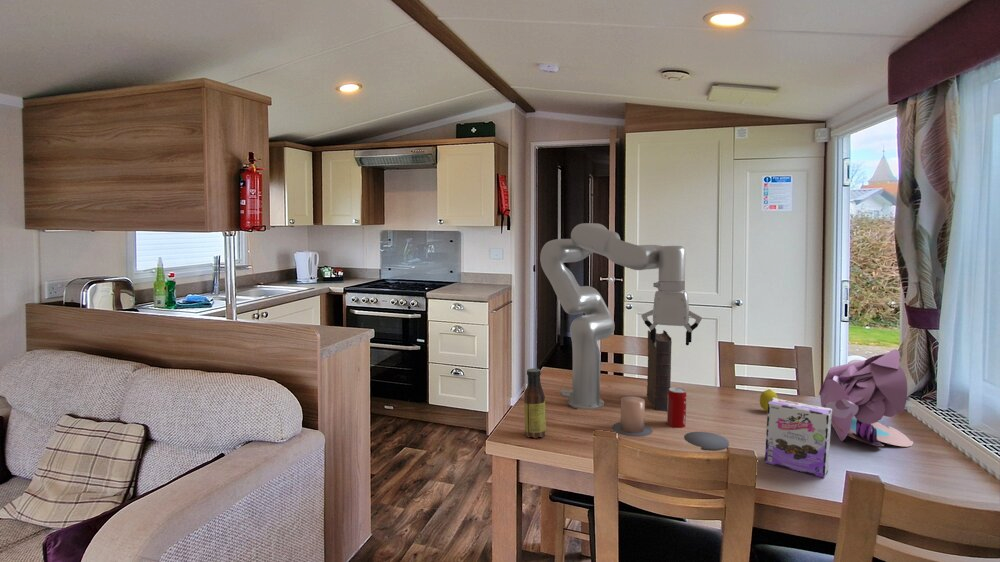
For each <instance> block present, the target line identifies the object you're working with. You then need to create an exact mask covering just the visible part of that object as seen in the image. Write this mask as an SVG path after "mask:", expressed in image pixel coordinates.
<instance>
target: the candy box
mask: <svg viewBox="0 0 1000 562" xmlns="http://www.w3.org/2000/svg"><path fill="white" fill-rule="evenodd" d="M831 417H832V409H831V408H824V407H822V406H819V405H812V404H811V405H810V404H806V403H802V402H796V401H791V400H785V399H781V398H778V399H777V398H772V400H771V401H770V402H769V403H768V412H767V418H766V435H765V452H764V453H765V455H764V463H766V464H770V465H774V466H778V467H781V468H784V467H785V469H789V470H793V471H795V470H796V472H799V471H800V473H804V474H806V475H807V474H808V475H811V476H815V477H820V478H825V477H826V475H827V474H828V471H829V457H830V447H831V446H830V443H831V430H832V429H831V427H832V424H831Z"/></svg>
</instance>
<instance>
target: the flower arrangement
mask: <svg viewBox="0 0 1000 562" xmlns="http://www.w3.org/2000/svg"><path fill="white" fill-rule="evenodd" d="M900 359H901V357H900V349H899V350H898V349H897V348H896V349H891V350H889V352H887V353H881V354H877V355H874V356H871V357H869V358H867V359H864V360H859V361H855V362H851V363H846V364H841V365H837V366H832V367H829V370H828V371H827V374H826V376H825V378H824V380H823V382H822V385H821V387H820V390H819V393H818V395H819V396H820V398H819V399H820V405H821V406H820V407H824V408H831V409H832V417H831V427H832V428H833V429H834V431H835V432H836V434H837V436H838V438H839V440H840V442H843V441H844V440H845V439H846V438H847V436H848V437H850V438H852V439H855V440H857V441H859V442H862V443H865V444H869V445H872V446H876V447H878V448H880V447H884V446H885V444H887V445H893V446H899V447H905V448H906V447H907V448H908V447H912V446H913V445H914V441H913V440H911V439H910V438H909V437H907V435H905V434H904V433H902V431H900V430H898V429H896V428H894V427H892V426H890V425H888V427H887V426H886V425H884V424H883V423H880V422H879V421H880V420H881V419H882V418H883V417H886V418H887V417H888V418H892V417H894V416H895V415H896V414H899V415H901V414H902V413H903V412H904V411H905V408H906V405H907V400H908V381H907V376H906V373H905V371H904V369H903V368H902V367H901V366H900ZM882 443H884V444H882Z"/></svg>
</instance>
